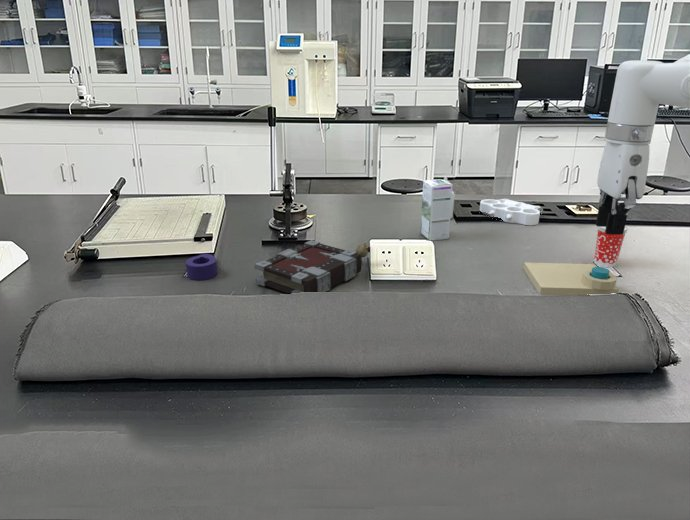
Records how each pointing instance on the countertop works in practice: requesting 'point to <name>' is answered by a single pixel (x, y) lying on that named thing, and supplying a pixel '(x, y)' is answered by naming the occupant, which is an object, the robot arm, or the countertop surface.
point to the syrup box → (436, 209)
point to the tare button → (600, 273)
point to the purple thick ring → (201, 267)
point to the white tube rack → (512, 211)
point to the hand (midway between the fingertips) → (609, 229)
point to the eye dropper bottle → (451, 200)
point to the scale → (568, 279)
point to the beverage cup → (608, 247)
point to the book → (310, 267)
